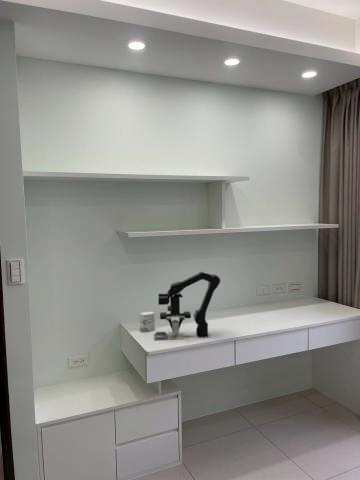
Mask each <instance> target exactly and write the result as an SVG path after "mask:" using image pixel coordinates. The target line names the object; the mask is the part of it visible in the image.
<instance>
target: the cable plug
mask: <svg viewBox="0 0 360 480" xmlns="http://www.w3.org/2000/svg"><path fill="white" fill-rule="evenodd" d="M171 321H172V329H171V332H172V333H171V334H180V328H179V319H178V320H177V319H174V320H171Z"/></svg>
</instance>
